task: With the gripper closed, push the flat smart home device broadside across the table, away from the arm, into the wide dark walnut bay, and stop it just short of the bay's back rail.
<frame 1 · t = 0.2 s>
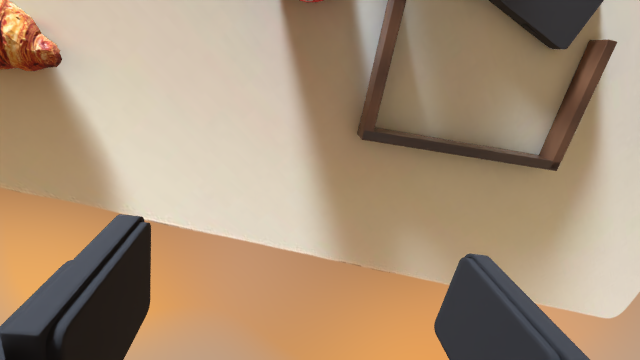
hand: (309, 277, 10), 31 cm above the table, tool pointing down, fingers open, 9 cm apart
dock: (475, 88, 40), on the table
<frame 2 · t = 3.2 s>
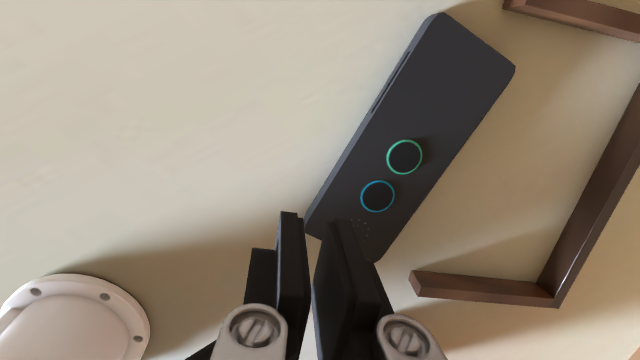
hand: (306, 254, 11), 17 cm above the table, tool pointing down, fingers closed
dock: (527, 170, 30), on the table
smart home device: (396, 148, 28), on the table
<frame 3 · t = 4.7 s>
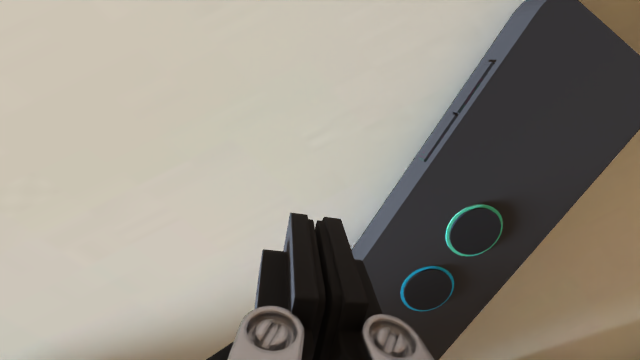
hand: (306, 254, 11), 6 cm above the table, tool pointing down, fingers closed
smart home device: (455, 211, 18), on the table
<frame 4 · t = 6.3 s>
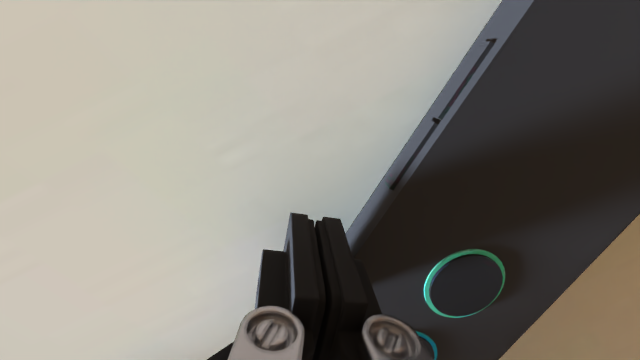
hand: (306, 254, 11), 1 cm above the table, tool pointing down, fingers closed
smart home device: (440, 251, 13), on the table, touching gripper
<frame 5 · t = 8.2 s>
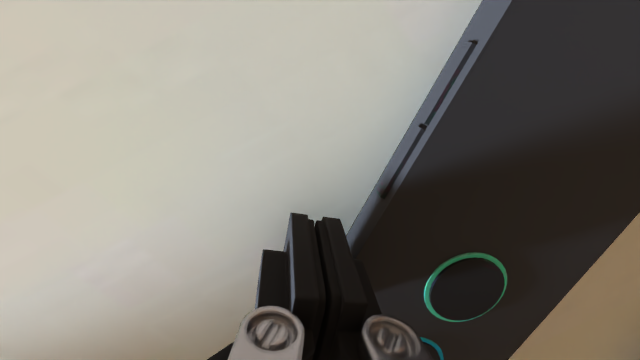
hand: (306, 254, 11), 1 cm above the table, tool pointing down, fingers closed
smart home device: (440, 254, 13), on the table, touching gripper
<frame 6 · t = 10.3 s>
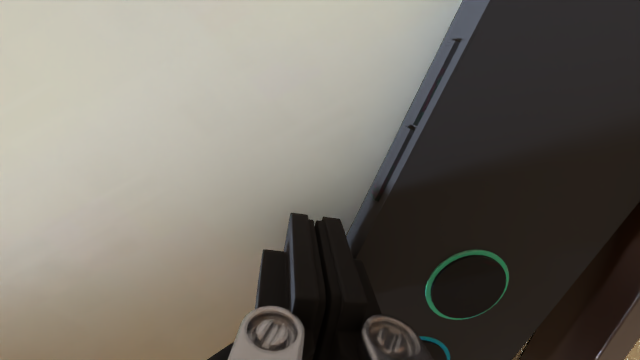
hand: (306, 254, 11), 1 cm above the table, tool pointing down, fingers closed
dock: (418, 256, 13), on the table
smart home device: (441, 252, 13), on the table, touching dock, gripper
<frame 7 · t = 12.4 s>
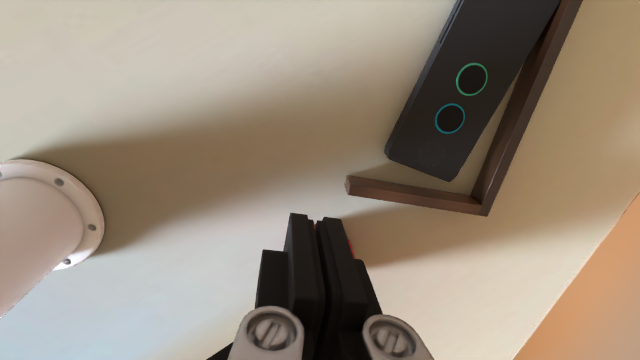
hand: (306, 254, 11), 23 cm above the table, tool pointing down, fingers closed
dock: (452, 75, 32), on the table
smart home device: (461, 76, 32), on the table, touching dock
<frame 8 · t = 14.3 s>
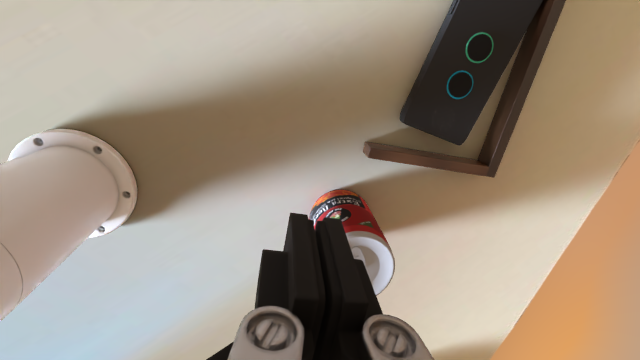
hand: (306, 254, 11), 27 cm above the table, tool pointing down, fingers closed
canned food: (338, 215, 42), on the table
dock: (461, 45, 35), on the table
smart home device: (469, 46, 36), on the table, touching dock
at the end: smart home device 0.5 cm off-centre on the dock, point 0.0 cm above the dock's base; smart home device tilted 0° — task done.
